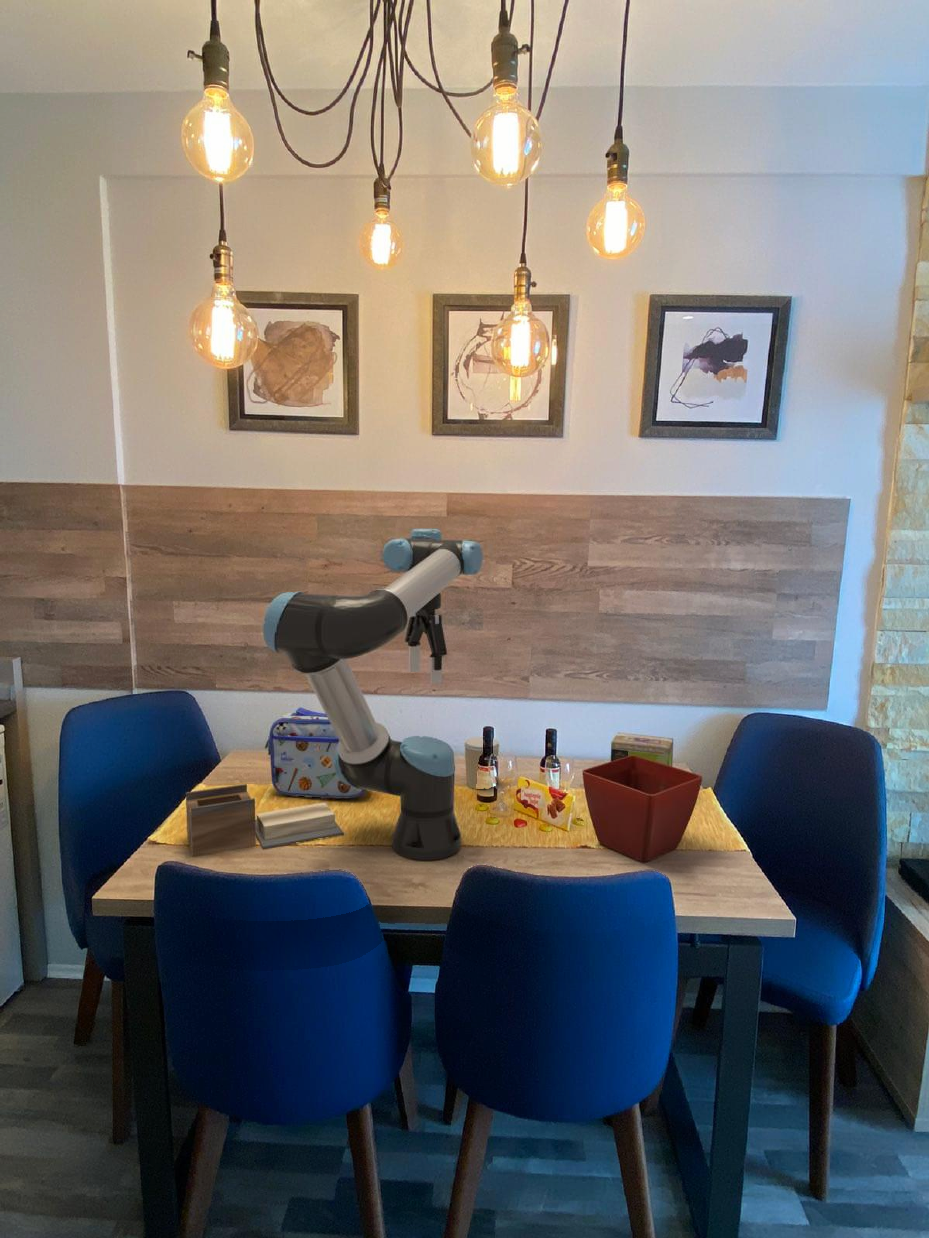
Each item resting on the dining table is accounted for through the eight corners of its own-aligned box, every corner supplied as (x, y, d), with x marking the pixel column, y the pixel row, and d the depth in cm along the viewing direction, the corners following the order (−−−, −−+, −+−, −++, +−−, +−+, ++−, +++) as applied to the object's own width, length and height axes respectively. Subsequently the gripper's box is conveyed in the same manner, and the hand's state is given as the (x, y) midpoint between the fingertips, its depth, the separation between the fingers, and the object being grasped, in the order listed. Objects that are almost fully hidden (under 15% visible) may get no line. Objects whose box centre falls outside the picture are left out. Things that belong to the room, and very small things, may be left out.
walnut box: (255, 845, 164) (254, 799, 163) (192, 856, 159) (191, 808, 157) (247, 827, 173) (246, 783, 172) (187, 837, 167) (185, 792, 166)
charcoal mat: (343, 834, 170) (343, 832, 170) (262, 849, 163) (262, 846, 162) (325, 810, 184) (325, 808, 184) (249, 822, 176) (249, 820, 176)
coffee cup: (504, 782, 205) (505, 740, 203) (487, 793, 197) (488, 749, 195) (474, 776, 209) (475, 734, 208) (457, 786, 201) (457, 743, 200)
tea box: (671, 791, 201) (674, 737, 199) (667, 804, 192) (670, 748, 190) (615, 782, 207) (617, 730, 205) (608, 795, 197) (610, 740, 195)
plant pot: (629, 820, 181) (633, 753, 179) (699, 848, 167) (704, 775, 165) (576, 842, 169) (579, 770, 167) (647, 874, 155) (652, 796, 152)
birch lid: (335, 826, 173) (335, 814, 173) (264, 839, 166) (264, 826, 165) (324, 814, 180) (324, 802, 180) (257, 826, 173) (256, 813, 172)
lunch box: (261, 797, 191) (259, 713, 188) (275, 783, 201) (274, 703, 198) (368, 804, 188) (368, 718, 185) (377, 788, 199) (377, 707, 195)
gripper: (462, 597, 175) (460, 686, 178) (419, 586, 197) (419, 666, 201) (432, 598, 172) (431, 689, 175) (393, 587, 194) (392, 668, 197)
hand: (424, 677), depth 188 cm, fingers open, 13 cm apart
